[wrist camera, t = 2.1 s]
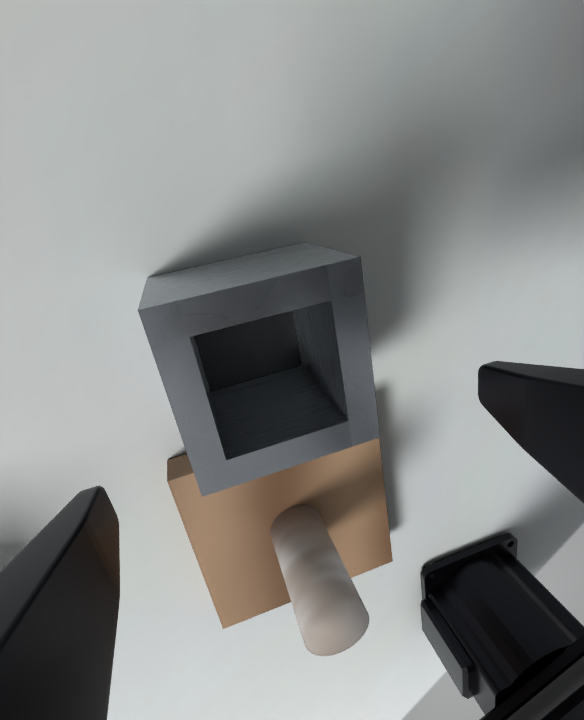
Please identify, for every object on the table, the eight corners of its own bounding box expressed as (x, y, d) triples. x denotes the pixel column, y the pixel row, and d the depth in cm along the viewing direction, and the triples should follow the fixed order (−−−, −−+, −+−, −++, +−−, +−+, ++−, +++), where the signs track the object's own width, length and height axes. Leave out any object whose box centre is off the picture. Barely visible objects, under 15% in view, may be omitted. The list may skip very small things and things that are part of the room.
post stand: (361, 399, 19) (448, 486, 13) (379, 539, 22) (453, 657, 17) (167, 459, 17) (167, 590, 11) (219, 601, 21) (239, 756, 15)
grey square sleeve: (304, 242, 16) (360, 256, 11) (326, 379, 18) (379, 437, 14) (147, 277, 14) (138, 310, 10) (192, 419, 17) (202, 496, 12)
